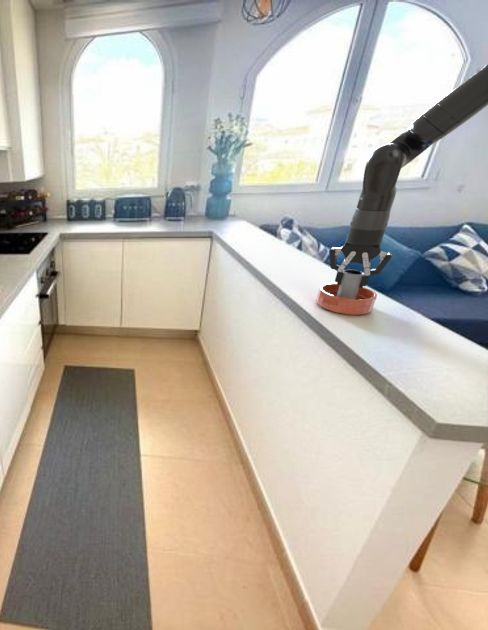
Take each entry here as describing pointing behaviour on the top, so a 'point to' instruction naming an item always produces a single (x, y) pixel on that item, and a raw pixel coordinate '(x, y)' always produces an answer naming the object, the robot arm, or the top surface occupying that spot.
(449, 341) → the top surface
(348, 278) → the grey cylinder
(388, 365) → the top surface
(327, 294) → the bowl
